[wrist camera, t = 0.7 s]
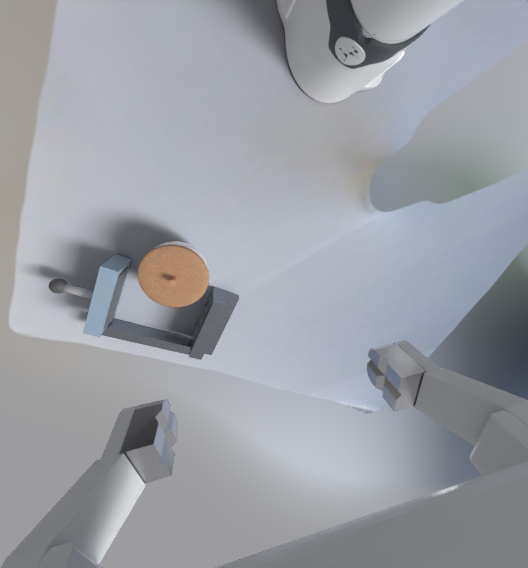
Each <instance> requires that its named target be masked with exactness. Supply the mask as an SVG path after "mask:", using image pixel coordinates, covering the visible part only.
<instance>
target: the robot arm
mask: <svg viewBox="0 0 528 568" xmlns="http://www.w3.org/2000/svg"><path fill="white" fill-rule="evenodd" d="M462 1H464V0H277V7H278V11H279V14H280V17H281V20H282V22H283V25H284V29H285V39H286V52H287V58H288V62H289V66H290V69H291V72H292V74H293V76H294V78H295V80H296V82H297V83H298V85H299V86H300V88H301V89H302V90H303V91H304V92H305V93H306V94H307V95H308V96H310V97H311V98H313V99H315V100H317V101H320V102H324V103H335V102H339V101H342V100H344V99H346V98H348V97H349V96H351V95H352V94H354V93H355V92H357V91H361V90H370V89H373V88H374V87H376V86H377V85H378V84H379V83H380V81H381V79H382V76H383V74H384V72H385V71H386V70H388V69H389V68H390V67H391V66H393V65H394V64H395V63H396V62H398V61H399V60H400V59H401V58H402V56H403V55H404V50H405V49H406V48H407V47H408V46H410V45H411V44H412V43H413V42H414V41H415V40H416V39H417V38H419V37H420V36H421V35H422V34H423V33H424V32H425V31H426V29H427V28H428V27H429V26H430V24H431V23H433V22H434V21H436V20H437V19H438V18H440V17H441V16H443V15H444V14H445V13H447V12H448V11H450V10H451V9H452V8H454V7H455V6H457V5H458V4H459V3H461V2H462ZM368 357H369V358H370V359H371V360H370V361H369V363H368V364H367V373H368V376H369V379H370V380H371V382H372V384H373V385H374V386H375V387H376V388H378V389H380V390H381V391H382V397H383V398H384V399H385V401H386V402H387V403H388V404H389V406H390V407H391V408H392V409H393V411H394V412H395V411H399V410H403V409H407V408H411V407H415V408H416V409H417V410H419V411H420V412H422V413H424V414H425V415H427V416H428V417H430V418H431V419H433V420H435V421H436V422H438V423H439V424H441V425H443V426H444V427H446V428H447V429H449V430H451V431H452V432H454V433H456V434H457V435H458V436H460V437H462V438H463V439H465V440H466V441H468V442H470V443H471V444H473V445H474V446H475V447H474V449H473V451H472V453H471V455H470V461H471V462H472V463H473V465H474V466H475V467H476V468H477V469H478V470H479V471H480V472H481V474H482V475H483V476H481V477H478V478H475V479H472V480H469V481H466V482H463V483H460V484H458V485H455V486H452V487H449V488H446V489H443V490H440V491H437V492H434V493H432V494H428V495H426V496H423V497H420V498H417V499H414V500H411V501H408V502H405V503H402V504H399V505H396V506H393V507H390V508H388V509H385V510H382V511H379V512H376V513H373V514H370V515H367V516H364V517H362V518H359V519H355V520H353V521H350V522H347V523H344V524H341V525H338V526H335V527H332V528H329V529H327V530H324V531H321V532H318V533H315V534H312V535H309V536H306V537H303V538H300V539H297V540H294V541H291V542H288V543H286V544H283V545H280V546H277V547H274V548H271V549H268V550H265V551H262V552H259V553H257V554H253V555H251V556H248V557H245V558H242V559H239V560H236V561H233V562H230V563H227V564H225V565H222V566H219V567H216V568H528V400H525V399H523V398H520V397H518V396H515V395H512V394H510V393H507V392H505V391H502V390H499V389H497V388H494V387H491V386H489V385H486V384H484V383H481V382H479V381H476V380H473V379H471V378H468V377H466V376H463V375H460V374H458V373H455V372H453V371H450V370H447V369H445V368H441V369H440V368H438V367H437V366H436V365H435V364H434V363H433V362H431V361H430V360H429V359H428V358H427V357H425V356H424V355H423V354H422V353H421V352H419V351H418V350H417V349H416V348H415V347H414V346H412V345H411V344H410V343H409V342H407V341H400V342H396V343H393V344H388V345H384V346H380V347H376V348H372V349H370V351H369V354H368ZM170 406H171V405H170V403H169V401H168V399H166V400H161V401H156V402H151V403H147V404H142V405H138V406H135V407H130V408H126V409H123V410H122V411H121V412H120V413H119V415H118V418H117V421H116V423H115V425H114V428H113V430H112V432H111V435H110V437H109V440H108V443H107V445H106V447H105V450H104V452H103V455H102V457H101V459H100V460H97V461H95V462H94V463H93V464H92V465H91V466H90V468H89V469H88V470H87V471H86V472H85V473H84V474H83V475H82V476H81V477H80V478H79V480H78V481H77V482H76V483H75V484H74V485H73V486H72V487H71V488H70V489H69V490H68V492H67V493H66V494H65V495H64V496H63V497H62V498H61V499H60V500H59V501H58V503H57V504H56V505H55V506H54V507H53V508H52V509H51V510H50V511H49V512H48V514H47V515H46V516H45V517H44V518H43V519H42V520H41V521H40V522H39V523H38V524H37V525H36V527H35V528H34V529H33V530H32V531H31V532H30V533H29V534H28V535H27V536H26V537H25V539H24V540H23V541H22V542H21V543H20V544H19V545H18V546H17V547H16V549H15V550H14V551H13V552H12V553H11V554H10V555H9V556H8V557H7V558H6V559H5V561H4V563H3V565H2V567H1V568H102V567H101V566H100V565H99V563H100V561H101V560H102V558H103V556H104V555H105V553H106V551H107V550H108V548H109V546H110V545H111V543H112V541H113V539H114V538H115V536H116V534H117V532H118V531H119V529H120V528H121V526H122V524H123V523H124V521H125V519H126V518H127V516H128V514H129V513H130V511H131V509H132V507H133V505H134V504H135V502H136V501H137V499H138V497H139V495H140V494H141V492H142V491H143V489H144V487H145V484H146V483H149V482H152V481H155V480H158V479H161V478H164V477H168V476H171V475H172V469H173V462H174V452H173V450H172V446H173V445H174V443H175V442H176V441H177V434H178V425H177V419H176V416H175V414H174V413H173V412H171V411H170Z"/></svg>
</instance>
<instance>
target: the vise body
mask: <svg viewBox="0 0 528 568" xmlns="http://www.w3.org/2000/svg"><path fill="white" fill-rule="evenodd" d="M238 300H239V296H238V295H236V294H233V293H230V292H227V291H224V290H222V289H219V288H216V287H213V289H212V292H211V294H210V296H209V298H208V301H207V303H206V305H205V307H204V310H203V312H202V314H201V317H200V319H199V321H198V323H197V326H196V328H195V330H194V332H193V335H192V338H189V337H185V336H181V335H177V334H173V333H169V332H165V331H161V330H157V329H153V328H149V327H145V326H141V325H137V324H133V323H130V322H126V321H122V320H118V319H114V318H113V319H112V321H111V322H110V323H109V325H108V326H107V327H106V329H105V330H104V332H103V333H102V334H101V335H104V336H109V337H113V338H117V339H122V340H126V341H131V342H135V343H139V344H144V345H148V346H153V347H157V348H162V349H166V350H170V351H175V352H179V353H184V354H188V355H189V357H192V358H196V359H202V357H203V355H204V353H205V354H209V355H212V353H213V351H214V349H215V347H216V345H217V342H218V340H219V338H220V336H221V334H222V332H223V330H224V328H225V326H226V324H227V322H228V320H229V318H230V316H231V314H232V312H233V310H234V308H235V306H236V304H237V302H238Z"/></svg>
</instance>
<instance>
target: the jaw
mask: <svg viewBox="0 0 528 568" xmlns="http://www.w3.org/2000/svg"><path fill="white" fill-rule="evenodd" d="M130 262H131V259H129V258H126V257H123V256H120V255H118V254H115V255H114V256H112V257H111V258H110V259H109V260H107V261H106V262H105V263H103V264H102V265H101V266H100V268H99V272H98V276H97V280H96V284H95V288H94V291H91V290H87V289H84V288H80V287H77V286H73V285H70V284H68V283H67V282H66V281H65V280H63V279H54V280H52V281H51V282H50V283H49V289H50V290H51V291H52V292H54V293H62V292H66V293H70V294H74V295H77V296H81V297H85V298H89V299H91V303H90V307H89V311H88V315H87V319H86V323H85V327H84V331H83V333H84V334H89V335H93V336H98V337H100V336H101V334H102V333H103V332H104V330H105V329H106V327H107V326H108V325H109V323H110V322H111V321H112V319H113V318H114V315H115V312H116V308H117V305H118V302H119V298H120V295H121V292H122V288H123V285H124V282H125V278H126V275H127V272H128V268H129V265H130Z"/></svg>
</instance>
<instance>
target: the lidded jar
mask: <svg viewBox="0 0 528 568" xmlns="http://www.w3.org/2000/svg"><path fill="white" fill-rule="evenodd" d="M138 281H139V284H140V286H141V288H142V290H143V291H144V293H145V294H146V295H147V296H148V297H149V298H150V299H152V300H153V301H155V302H157V303H159V304H161V305H164V306H168V307H184V306H187V305H190V304H193V303H194V302H196V301H198V300H199V299H200V298H201V297H202V296H203V295H204V293H205V291H206V290H207V287H208V283H209V273H208V266H207V263H206V260H205V258H204V257H203V255H202V254H201V253H200V251H199V250H197V249H196V248H195V247H194V246H192V245H190V244H188V243H185V242H180V241H171V242H166V243H163V244H160V245H158V246H157V247H155V248H153V249H152V250H151V251H150V252H148V253H147V254H146V255H145V256H144V258H143V259H142V260H141V262H140V264H139V268H138Z"/></svg>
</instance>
